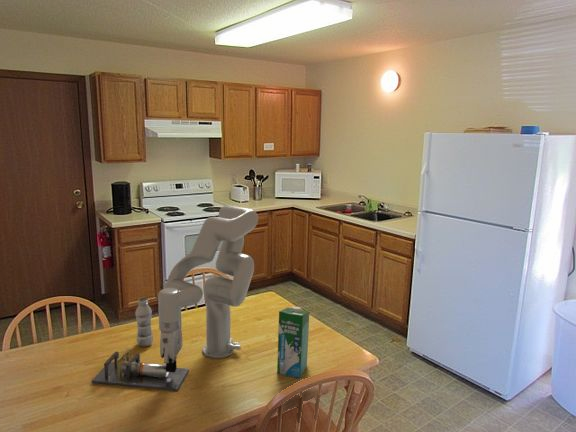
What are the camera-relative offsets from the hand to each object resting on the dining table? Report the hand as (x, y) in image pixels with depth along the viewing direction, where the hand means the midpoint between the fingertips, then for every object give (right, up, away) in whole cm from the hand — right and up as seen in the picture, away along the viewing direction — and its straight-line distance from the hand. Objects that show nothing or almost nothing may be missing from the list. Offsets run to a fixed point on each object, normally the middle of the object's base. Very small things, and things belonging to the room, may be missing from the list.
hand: (171, 370), depth 149 cm
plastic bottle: (-18, +2, +24) cm, 30 cm away
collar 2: (-14, -2, +2) cm, 14 cm away
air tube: (-10, -2, +1) cm, 10 cm away
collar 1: (-22, -1, +3) cm, 22 cm away
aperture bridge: (-18, -2, +2) cm, 18 cm away
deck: (-11, -3, +2) cm, 12 cm away
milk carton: (+43, -3, +10) cm, 44 cm away
